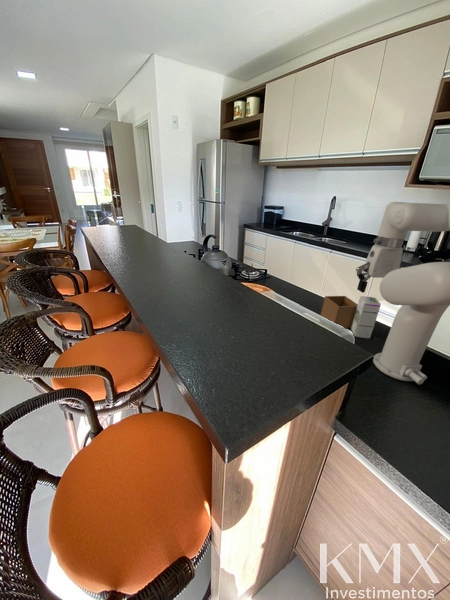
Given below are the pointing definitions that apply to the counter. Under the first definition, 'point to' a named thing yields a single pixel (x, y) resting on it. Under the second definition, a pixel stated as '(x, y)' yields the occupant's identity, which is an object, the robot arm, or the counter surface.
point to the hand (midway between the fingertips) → (372, 290)
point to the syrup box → (365, 317)
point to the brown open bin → (339, 310)
